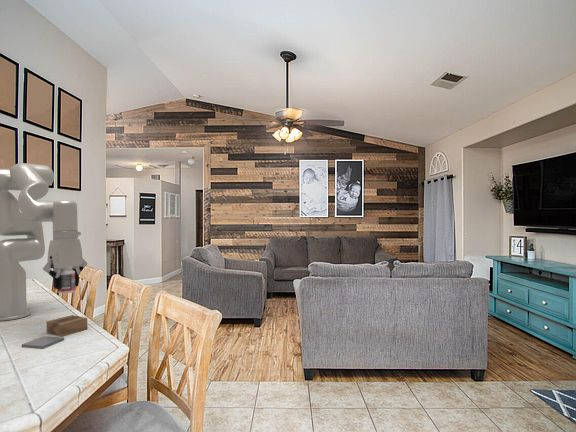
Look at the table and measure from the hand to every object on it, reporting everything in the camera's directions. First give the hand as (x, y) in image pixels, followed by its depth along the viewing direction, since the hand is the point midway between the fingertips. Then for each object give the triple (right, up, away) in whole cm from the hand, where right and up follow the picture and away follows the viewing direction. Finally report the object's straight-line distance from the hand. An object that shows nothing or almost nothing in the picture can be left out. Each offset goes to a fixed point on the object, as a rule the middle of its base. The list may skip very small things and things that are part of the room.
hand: (66, 286), depth 130 cm
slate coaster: (0, -16, -13) cm, 20 cm away
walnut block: (0, -16, 0) cm, 16 cm away
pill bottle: (0, -2, 0) cm, 2 cm away
